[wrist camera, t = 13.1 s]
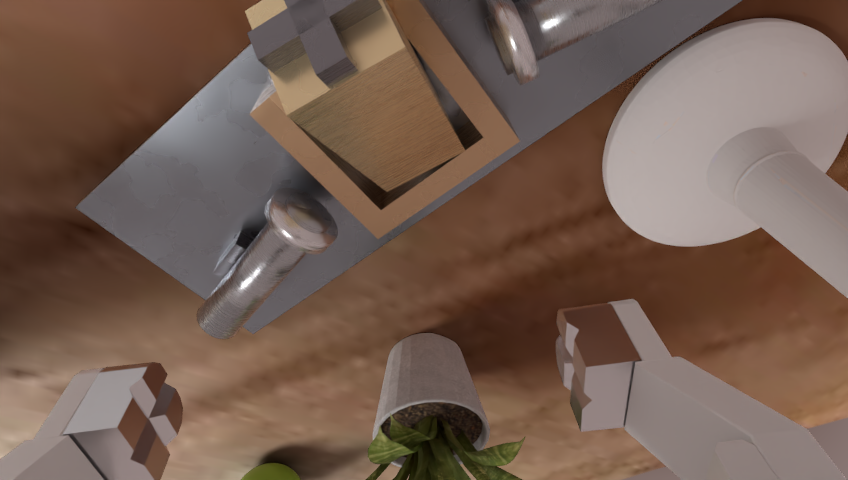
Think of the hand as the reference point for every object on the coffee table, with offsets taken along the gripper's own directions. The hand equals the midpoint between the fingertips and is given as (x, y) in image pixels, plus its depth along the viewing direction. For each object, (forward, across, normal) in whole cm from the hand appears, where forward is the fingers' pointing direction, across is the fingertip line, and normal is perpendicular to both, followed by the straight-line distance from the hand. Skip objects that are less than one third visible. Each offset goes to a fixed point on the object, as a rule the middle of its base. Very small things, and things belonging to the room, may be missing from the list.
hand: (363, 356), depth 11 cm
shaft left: (+17, +7, +7) cm, 20 cm away
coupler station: (+18, -1, +1) cm, 18 cm away
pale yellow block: (+15, -1, +2) cm, 15 cm away
